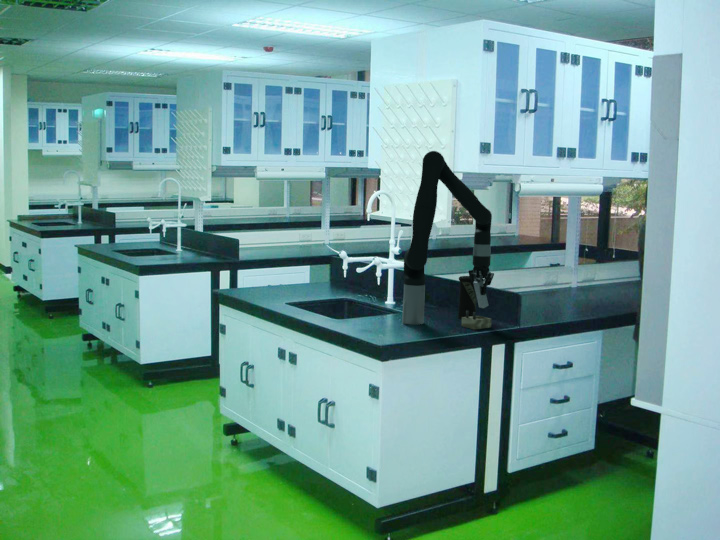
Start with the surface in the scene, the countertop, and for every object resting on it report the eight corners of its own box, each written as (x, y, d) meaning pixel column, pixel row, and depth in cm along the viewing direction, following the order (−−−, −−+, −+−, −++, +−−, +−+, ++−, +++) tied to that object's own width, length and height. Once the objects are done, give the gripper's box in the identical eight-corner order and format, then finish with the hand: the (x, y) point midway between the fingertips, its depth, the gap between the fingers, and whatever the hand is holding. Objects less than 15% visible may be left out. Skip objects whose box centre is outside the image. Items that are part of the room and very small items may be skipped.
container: (466, 321, 340) (468, 277, 338) (453, 318, 347) (454, 275, 345) (480, 319, 345) (482, 276, 343) (466, 316, 352) (468, 274, 350)
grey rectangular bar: (483, 308, 326) (478, 283, 322) (478, 307, 329) (473, 282, 325) (488, 305, 328) (482, 280, 324) (483, 304, 330) (477, 279, 326)
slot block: (474, 329, 321) (475, 313, 320) (461, 326, 327) (462, 310, 326) (491, 327, 326) (491, 311, 326) (478, 324, 333) (478, 308, 332)
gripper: (499, 255, 321) (498, 296, 323) (476, 253, 332) (475, 291, 334) (487, 256, 316) (485, 297, 318) (464, 253, 328) (462, 293, 330)
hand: (480, 294), depth 326 cm, fingers closed on grey rectangular bar, 3 cm apart
